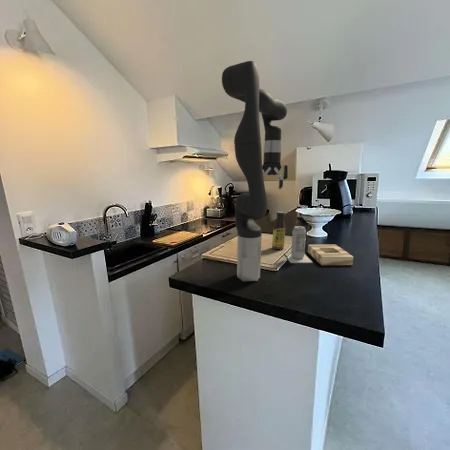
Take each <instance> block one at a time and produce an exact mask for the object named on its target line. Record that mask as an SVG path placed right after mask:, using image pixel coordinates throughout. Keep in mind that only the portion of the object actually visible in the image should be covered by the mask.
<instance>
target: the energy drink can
mask: <svg viewBox="0 0 450 450" xmlns="http://www.w3.org/2000/svg"><path fill="white" fill-rule="evenodd" d="M291 233H292V234H291V235H292V238H291V252H290V253H291V256H292V258H294V259H303V257H304V254H305V252H306V251H305V248H306V236H307V235H306V234H307V230H306V226H302V225H296V226H294V227H293V229H292V232H291Z"/></svg>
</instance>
